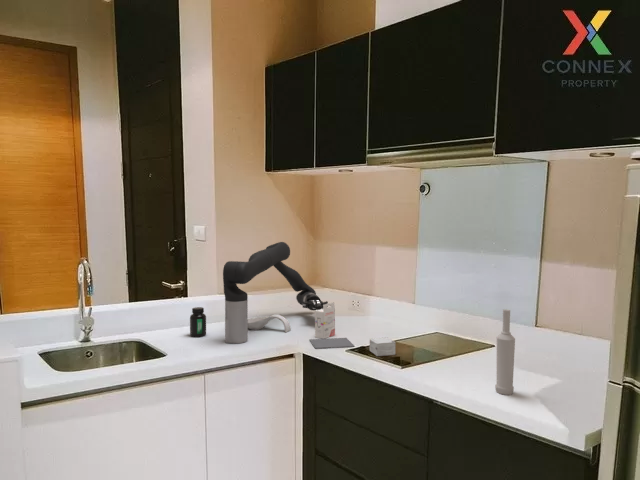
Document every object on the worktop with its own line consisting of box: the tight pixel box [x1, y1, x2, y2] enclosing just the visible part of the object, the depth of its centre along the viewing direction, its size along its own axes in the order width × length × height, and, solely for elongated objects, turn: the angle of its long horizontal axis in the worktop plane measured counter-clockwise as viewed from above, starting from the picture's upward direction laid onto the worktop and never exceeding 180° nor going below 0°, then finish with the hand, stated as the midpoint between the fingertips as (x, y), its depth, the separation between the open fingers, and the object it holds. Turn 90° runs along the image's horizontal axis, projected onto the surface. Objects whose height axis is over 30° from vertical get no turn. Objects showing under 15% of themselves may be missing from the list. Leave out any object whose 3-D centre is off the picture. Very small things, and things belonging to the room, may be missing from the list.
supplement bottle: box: [189, 306, 207, 338], centre depth 212 cm, size 7×7×12 cm
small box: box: [369, 336, 396, 357], centre depth 188 cm, size 8×8×5 cm
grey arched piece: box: [248, 314, 292, 333], centre depth 225 cm, size 24×12×7 cm, turn 68°
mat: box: [308, 337, 356, 350], centre depth 200 cm, size 16×13×1 cm
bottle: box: [495, 308, 516, 396], centre depth 146 cm, size 5×5×25 cm
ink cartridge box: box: [314, 302, 336, 339], centre depth 212 cm, size 9×5×15 cm, turn 143°
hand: (319, 307), depth 224 cm, fingers closed
